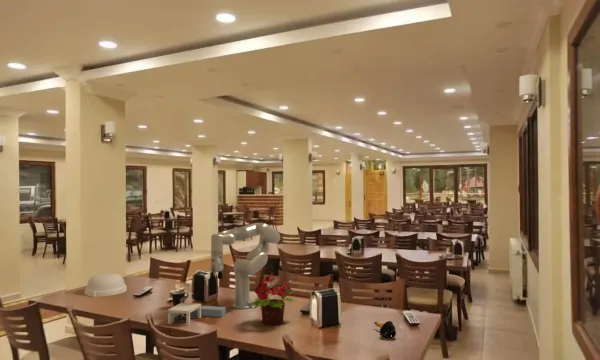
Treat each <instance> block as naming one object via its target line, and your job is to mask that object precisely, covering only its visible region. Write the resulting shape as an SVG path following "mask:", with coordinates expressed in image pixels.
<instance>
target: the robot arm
mask: <svg viewBox="0 0 600 360" xmlns="http://www.w3.org/2000/svg"><path fill="white" fill-rule="evenodd" d="M256 236H259V242H258V244H257V245H256V247H254V248H253V249H252V250H250V251H249V252H248V253H247V254H246V258H245V259H243V258H238V259H236V260H235V261H234V264H233V271H234V278H235V279H234V280H235V281H234V283H235V286H234V288H235V294H234V295H235V296H234V297H235V300H234V301H235V302H234V303H233V304H232V307H233V308H234V309H239V310H245V309H250V308H251V307H253V306H252V305H254V304H253V302H255V300H253V301H252V299H251V298H250V293H251V292H250V276H254V275H256V274H257V272H259V271H260V270H261V269H263V267H264V266H266V264H267V262H268V259H269V257H268V253H269V249H270V247H269V246H270V244H278V243H279V242H280V240H281V235H280V233H279V231H278V230H276V229H275V228H273V227H272V226H271V225H269V224H267V223H264V222H253V223H251V224H248V225H245V226H241V227H237V228H231V229H227V230H223V231H221V232H218V233H213V234H211V236H210V237H211V238H210V240H211V241H210V243H211V244H210V267H209V277H210V280H209V282H211V283H212V282H213V283H216V273H217V279H218V280H223V273H224V268H225V267H224V263H225V262H224V246H225V245H226V246H231V245H234V244H235V243H236V241H237V240H248V239H250V238H253V237H256Z"/></svg>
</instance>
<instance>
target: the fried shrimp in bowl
mask: <svg viewBox="0 0 600 360" xmlns="http://www.w3.org/2000/svg"><path fill="white" fill-rule="evenodd" d="M373 324H374V325H375V326H377V327H379V334H380V333H381V334H380V335H381V336H383V337H385V338H391V339H393V338H395V337H396V335H397V332H396V327H395V325H394V323H393V321H392V320H387V321H386V322H385V323H384V322H383V323H381V322H378V321H374V323H373ZM391 335H392V337H393V338H392V337H391Z"/></svg>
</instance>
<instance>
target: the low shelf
mask: <svg viewBox="0 0 600 360" xmlns="http://www.w3.org/2000/svg"><path fill="white" fill-rule="evenodd" d="M201 306H202V303H196V302H195V303H191V302H184V303H180V304H178V305H176V306H172V307H171V308H168V309H167V325H171V324H173V323H174V322H175V323H176V322H178V324H186V326H190V325H191V320H196V317H195V316H194V317H192V316H191V315H190V313H191V312H193V311H194V310H196V309H197V308H198V316H197V318H198V319H200V318H202V316H201ZM184 314H185V316H184ZM182 319H186V320H182Z"/></svg>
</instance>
